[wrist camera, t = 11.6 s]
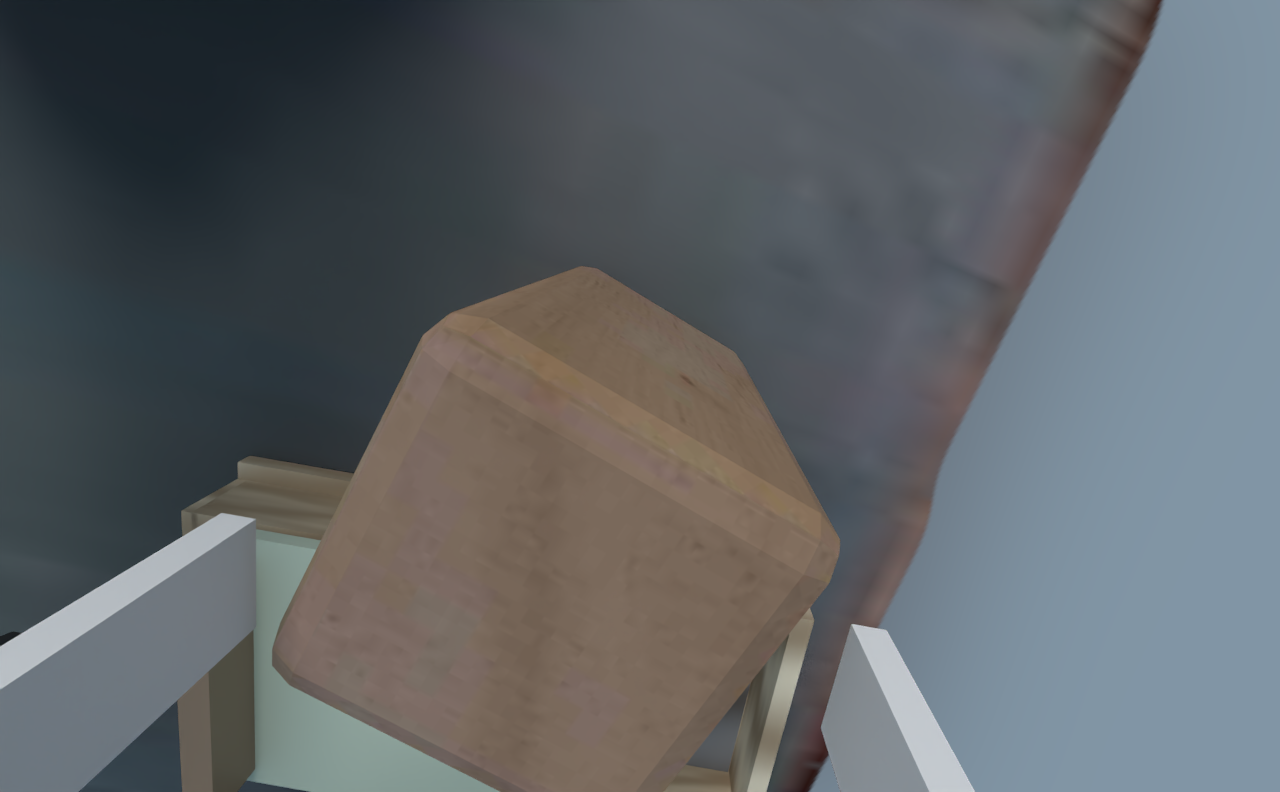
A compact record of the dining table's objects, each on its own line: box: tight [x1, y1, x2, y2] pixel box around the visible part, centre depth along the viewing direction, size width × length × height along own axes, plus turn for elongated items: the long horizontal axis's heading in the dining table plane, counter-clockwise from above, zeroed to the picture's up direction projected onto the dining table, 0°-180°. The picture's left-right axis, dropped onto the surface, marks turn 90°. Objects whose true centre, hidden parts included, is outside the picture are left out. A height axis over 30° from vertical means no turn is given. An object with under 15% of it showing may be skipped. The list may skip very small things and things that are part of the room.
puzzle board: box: [181, 456, 814, 792], centre depth 34 cm, size 17×32×5 cm, turn 81°
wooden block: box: [272, 266, 840, 792], centre depth 22 cm, size 10×10×20 cm
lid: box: [177, 529, 500, 792], centre depth 29 cm, size 15×15×4 cm
